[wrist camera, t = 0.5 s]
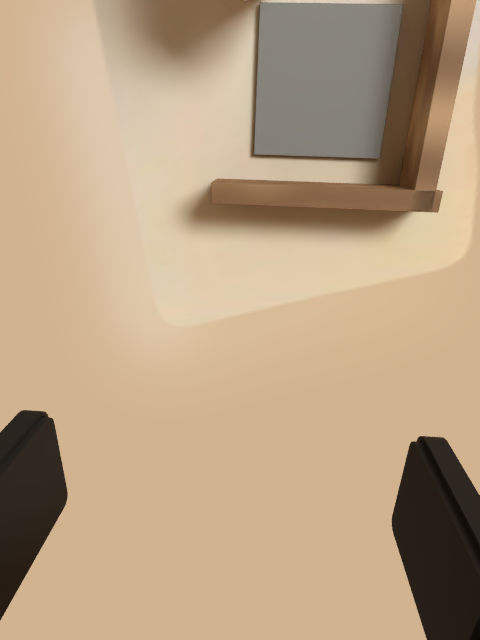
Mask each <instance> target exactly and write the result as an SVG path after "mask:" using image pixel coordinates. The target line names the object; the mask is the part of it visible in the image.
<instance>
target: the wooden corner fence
mask: <svg viewBox="0 0 480 640" xmlns="http://www.w3.org/2000/svg"><path fill="white" fill-rule="evenodd" d="M475 4H476V0H432V1H431V7H430V13H429V18H428V24H427V30H426V35H425V41H424V47H423V52H422V58H421V64H420V69H419V75H418V81H417V86H416V92H415V98H414V103H413V109H412V115H411V120H410V126H409V132H408V137H407V143H406V149H405V154H404V160H403V166H402V171H401V177H400V183H399V185H376V184H348V183H321V182H294V181H267V180H239V179H216V180H215V181H213V182H212V183H211V203H214V204H239V205H264V206H289V207H315V208H340V209H365V210H390V211H415V212H438V211H439V207H440V202H441V197H442V193H443V191H439V190H436V188H437V183H438V178H439V174H440V169H441V164H442V160H443V155H444V150H445V145H446V141H447V136H448V131H449V127H450V122H451V117H452V113H453V108H454V103H455V98H456V94H457V89H458V84H459V80H460V75H461V70H462V65H463V61H464V56H465V51H466V47H467V42H468V37H469V32H470V28H471V23H472V18H473V14H474V9H475Z"/></svg>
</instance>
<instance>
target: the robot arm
mask: <svg viewBox="0 0 480 640" xmlns="http://www.w3.org/2000/svg"><path fill="white" fill-rule="evenodd" d="M66 501H67V487H66V482H65V477H64V471H63V467H62V461H61V457H60V451H59V446H58V440H57V435H56V430H55V425H54V421H53V419H52V418H49V417H48V414H46V412H42V411H28V410H23V411H21V412H20V413H18V414H17V415H16V416H15V417H14V418H13V420H12V421H11V422H10V423H9V424H8V425H7V426H6V427H5V428H4V429H3V430H2V431H1V432H0V620H1V618H2V616H3V615H4V613H5V611H6V609H7V608H8V606H9V604H10V602H11V600H12V599H13V597H14V595H15V593H16V591H17V590H18V588H19V586H20V585H21V583H22V581H23V579H24V577H25V576H26V574H27V572H28V570H29V569H30V567H31V565H32V563H33V562H34V560H35V558H36V556H37V555H38V553H39V551H40V549H41V547H42V546H43V544H44V542H45V540H46V539H47V537H48V535H49V533H50V531H51V530H52V528H53V526H54V524H55V523H56V521H57V519H58V517H59V515H60V514H61V512H62V510H63V509H64V506H65V504H66ZM392 529H393V533H394V537H395V540H396V543H397V546H398V549H399V553H400V555H401V559H402V562H403V565H404V568H405V571H406V575H407V578H408V581H409V584H410V587H411V591H412V594H413V597H414V600H415V603H416V606H417V610H418V613H419V616H420V619H421V622H422V625H423V628H424V632H425V635H426V638H427V640H480V495H479V494H478V492H477V491H476V489H475V487H474V486H473V484H472V482H471V480H470V479H469V477H468V476H467V474H466V472H465V471H464V469H463V467H462V465H461V464H460V462H459V460H458V459H457V457H456V455H455V454H454V452H453V450H452V449H451V447H450V445H449V444H448V442H447V440H445V439H444V438H441V437H425V436H420V437H419V438H418V439H417V442H411V443H410V446H409V450H408V454H407V458H406V462H405V466H404V470H403V475H402V479H401V483H400V487H399V491H398V495H397V499H396V503H395V507H394V512H393V515H392Z"/></svg>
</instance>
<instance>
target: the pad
mask: <svg viewBox="0 0 480 640" xmlns="http://www.w3.org/2000/svg"><path fill="white" fill-rule="evenodd" d="M402 10H403V5H400V4H331V3H263V2H260V20H259V45H258V69H257V94H256V119H255V144H254V154H259V155H289V156H319V157H349V158H379V159H380V152H381V146H382V140H383V133H384V127H385V120H386V114H387V107H388V101H389V94H390V88H391V81H392V75H393V68H394V62H395V55H396V49H397V43H398V36H399V30H400V23H401V17H402Z"/></svg>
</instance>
